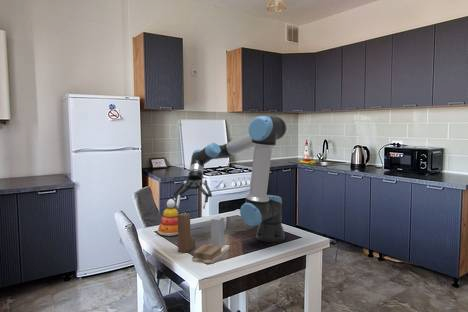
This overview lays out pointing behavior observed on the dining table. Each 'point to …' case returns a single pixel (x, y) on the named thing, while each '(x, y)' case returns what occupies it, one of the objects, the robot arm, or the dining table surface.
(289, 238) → the dining table surface
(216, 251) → the base board
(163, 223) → the stacking toy
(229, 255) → the dining table surface
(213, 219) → the grey pillar
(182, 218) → the wooden block
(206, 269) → the dining table surface
